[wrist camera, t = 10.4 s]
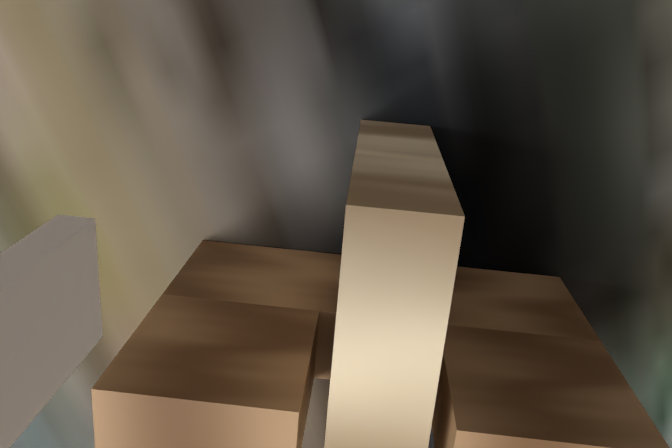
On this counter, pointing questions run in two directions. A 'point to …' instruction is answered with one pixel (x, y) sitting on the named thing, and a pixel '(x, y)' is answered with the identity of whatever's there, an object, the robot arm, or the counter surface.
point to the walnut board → (317, 351)
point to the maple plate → (393, 289)
